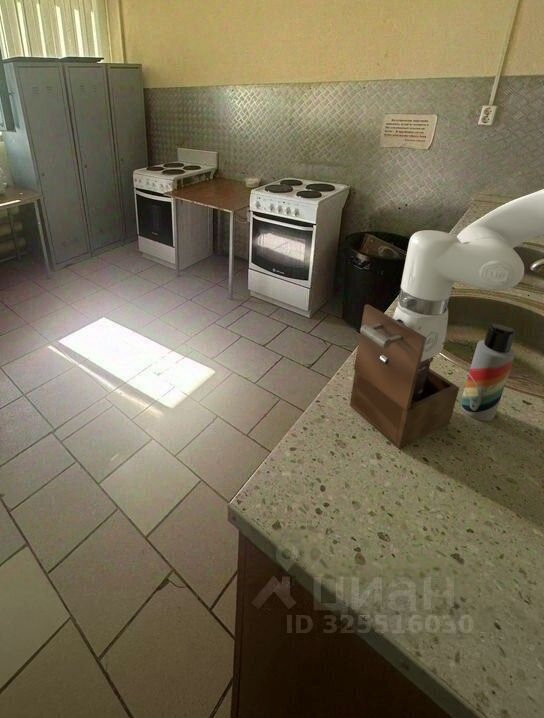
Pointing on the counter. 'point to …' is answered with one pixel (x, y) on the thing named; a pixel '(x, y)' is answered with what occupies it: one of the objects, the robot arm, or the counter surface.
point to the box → (420, 380)
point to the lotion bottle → (488, 373)
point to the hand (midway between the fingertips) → (405, 380)
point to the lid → (389, 355)
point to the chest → (398, 421)
